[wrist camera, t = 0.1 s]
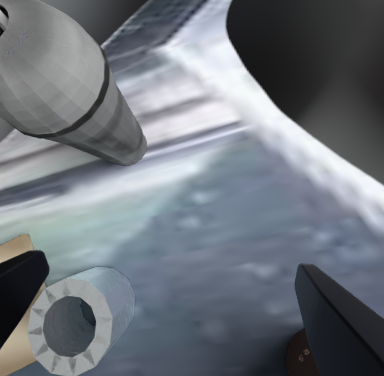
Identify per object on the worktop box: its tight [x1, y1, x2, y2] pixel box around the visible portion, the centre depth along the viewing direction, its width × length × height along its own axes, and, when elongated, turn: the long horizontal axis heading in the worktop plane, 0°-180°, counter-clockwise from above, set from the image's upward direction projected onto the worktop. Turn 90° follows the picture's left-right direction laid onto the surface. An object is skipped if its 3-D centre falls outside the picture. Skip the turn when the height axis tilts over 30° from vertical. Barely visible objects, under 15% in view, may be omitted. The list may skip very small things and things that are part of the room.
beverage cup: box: [0, 0, 147, 166], centre depth 15 cm, size 7×7×20 cm
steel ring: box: [27, 266, 136, 376], centre depth 20 cm, size 7×7×5 cm
